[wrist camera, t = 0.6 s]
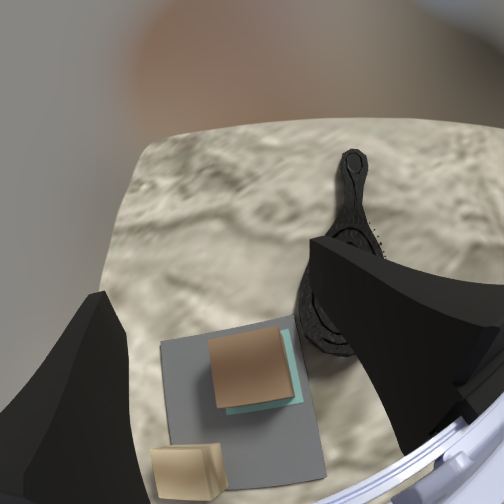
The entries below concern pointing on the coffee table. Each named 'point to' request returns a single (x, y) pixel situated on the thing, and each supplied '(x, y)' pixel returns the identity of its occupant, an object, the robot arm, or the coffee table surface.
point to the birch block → (189, 471)
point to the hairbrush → (353, 233)
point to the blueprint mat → (244, 414)
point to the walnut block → (250, 368)
